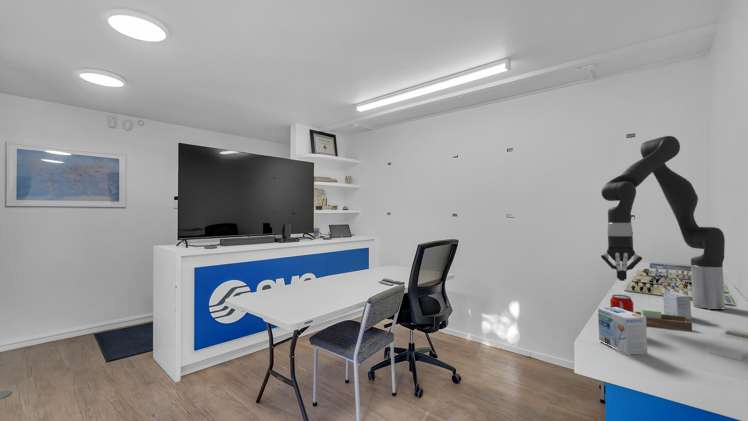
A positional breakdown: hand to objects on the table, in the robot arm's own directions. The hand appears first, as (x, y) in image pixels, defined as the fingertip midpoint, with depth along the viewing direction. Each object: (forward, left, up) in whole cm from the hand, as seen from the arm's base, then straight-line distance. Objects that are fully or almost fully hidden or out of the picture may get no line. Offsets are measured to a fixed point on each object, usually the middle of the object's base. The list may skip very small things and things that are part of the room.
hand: (621, 280), depth 123 cm
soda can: (+15, -2, -15) cm, 21 cm away
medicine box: (-13, +18, -15) cm, 27 cm away
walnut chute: (0, +11, -15) cm, 18 cm away
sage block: (0, +8, -15) cm, 17 cm away
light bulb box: (+31, -4, -15) cm, 35 cm away
